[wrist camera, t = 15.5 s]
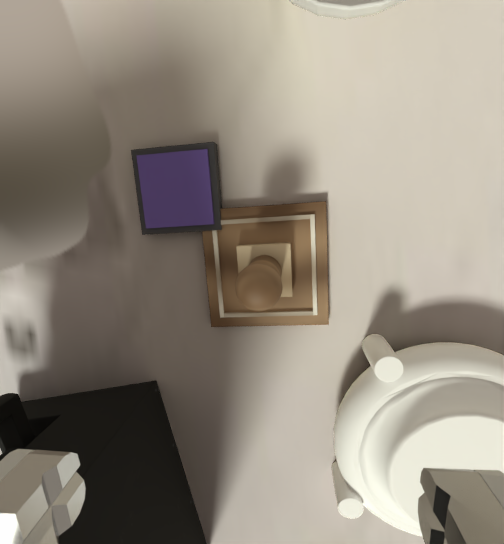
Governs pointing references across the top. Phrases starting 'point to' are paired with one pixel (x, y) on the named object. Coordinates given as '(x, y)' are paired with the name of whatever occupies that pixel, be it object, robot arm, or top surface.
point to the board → (270, 229)
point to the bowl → (345, 7)
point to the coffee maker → (112, 462)
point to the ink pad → (178, 188)
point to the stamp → (263, 274)
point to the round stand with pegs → (415, 425)
